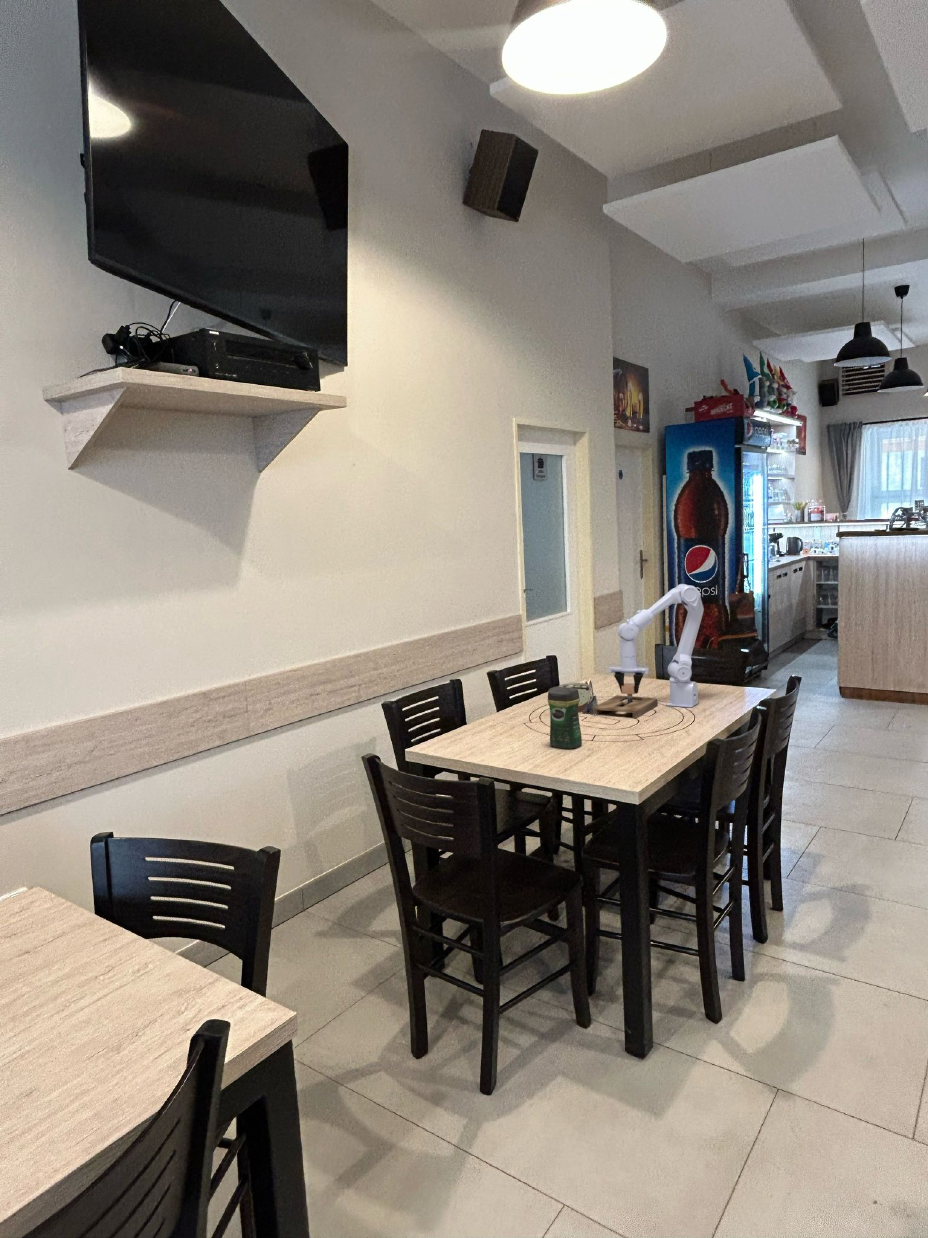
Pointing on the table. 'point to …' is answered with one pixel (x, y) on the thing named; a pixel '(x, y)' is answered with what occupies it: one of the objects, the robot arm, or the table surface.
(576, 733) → the coffee jar
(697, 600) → the robot arm
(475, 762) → the table surface
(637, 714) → the keyhole plate
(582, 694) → the food container
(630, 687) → the key peg
